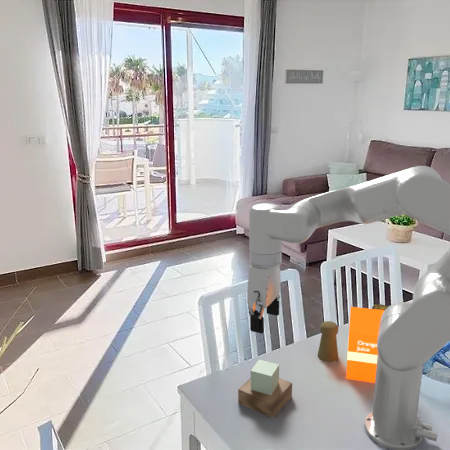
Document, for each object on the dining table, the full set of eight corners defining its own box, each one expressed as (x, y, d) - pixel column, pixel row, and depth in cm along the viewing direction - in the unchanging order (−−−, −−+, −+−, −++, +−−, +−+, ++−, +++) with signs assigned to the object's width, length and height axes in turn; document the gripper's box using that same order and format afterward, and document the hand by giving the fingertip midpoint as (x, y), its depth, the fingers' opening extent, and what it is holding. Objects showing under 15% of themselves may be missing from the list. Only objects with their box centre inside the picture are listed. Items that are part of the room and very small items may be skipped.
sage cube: (278, 383, 118) (279, 364, 117) (271, 395, 114) (271, 376, 112) (258, 377, 121) (259, 359, 119) (250, 389, 116) (250, 370, 115)
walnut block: (291, 397, 120) (292, 382, 118) (272, 419, 112) (272, 403, 111) (259, 384, 125) (259, 370, 124) (238, 404, 118) (238, 388, 116)
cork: (336, 351, 140) (338, 318, 137) (339, 362, 134) (341, 328, 131) (316, 350, 140) (318, 318, 137) (318, 361, 135) (320, 328, 131)
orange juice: (346, 363, 134) (350, 300, 128) (378, 367, 131) (384, 304, 126) (345, 379, 126) (350, 313, 121) (379, 384, 124) (385, 317, 118)
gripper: (265, 243, 116) (264, 305, 121) (234, 266, 102) (235, 335, 106) (293, 247, 113) (291, 311, 118) (265, 272, 98) (265, 343, 103)
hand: (265, 322), depth 112 cm, fingers open, 9 cm apart
